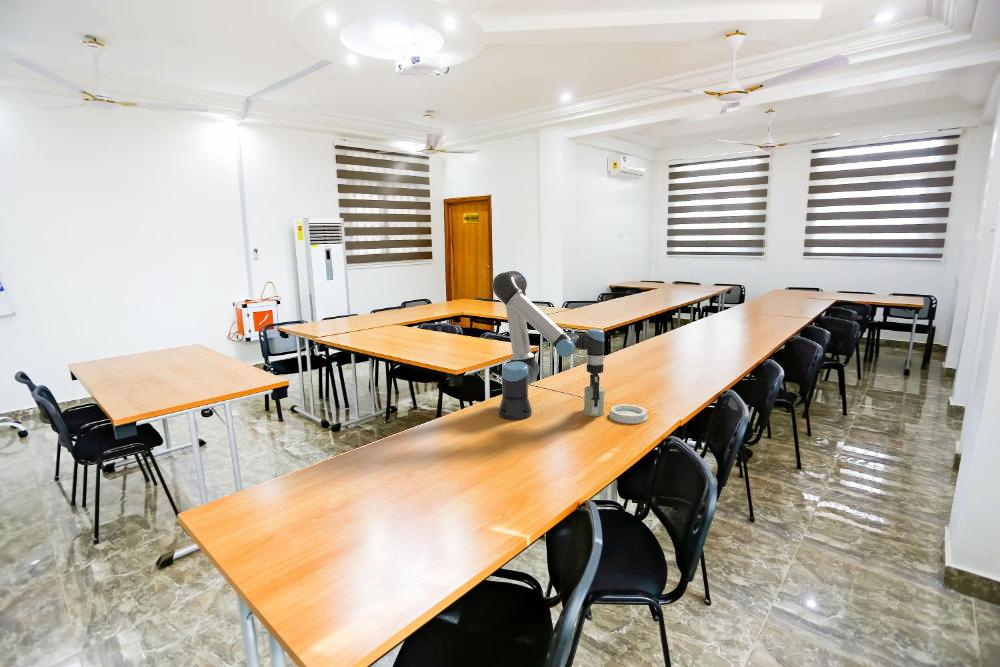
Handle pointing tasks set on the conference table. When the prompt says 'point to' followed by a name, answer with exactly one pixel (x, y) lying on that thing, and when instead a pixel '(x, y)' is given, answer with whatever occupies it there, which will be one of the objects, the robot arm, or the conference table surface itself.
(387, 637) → the conference table surface
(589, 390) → the can
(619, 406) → the tray
